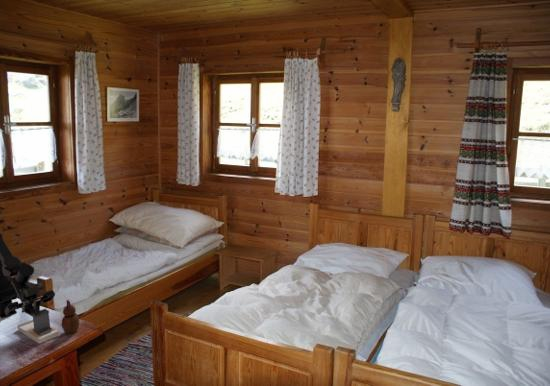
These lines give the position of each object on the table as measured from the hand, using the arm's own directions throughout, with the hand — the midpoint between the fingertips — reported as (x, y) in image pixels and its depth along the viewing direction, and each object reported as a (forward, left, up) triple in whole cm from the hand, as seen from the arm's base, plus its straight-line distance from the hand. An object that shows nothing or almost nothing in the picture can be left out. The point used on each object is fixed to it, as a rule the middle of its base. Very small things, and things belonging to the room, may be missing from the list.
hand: (39, 319), depth 190 cm
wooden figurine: (+8, +9, -7) cm, 14 cm away
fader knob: (+2, 0, -4) cm, 5 cm away
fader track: (-2, 0, -7) cm, 7 cm away
